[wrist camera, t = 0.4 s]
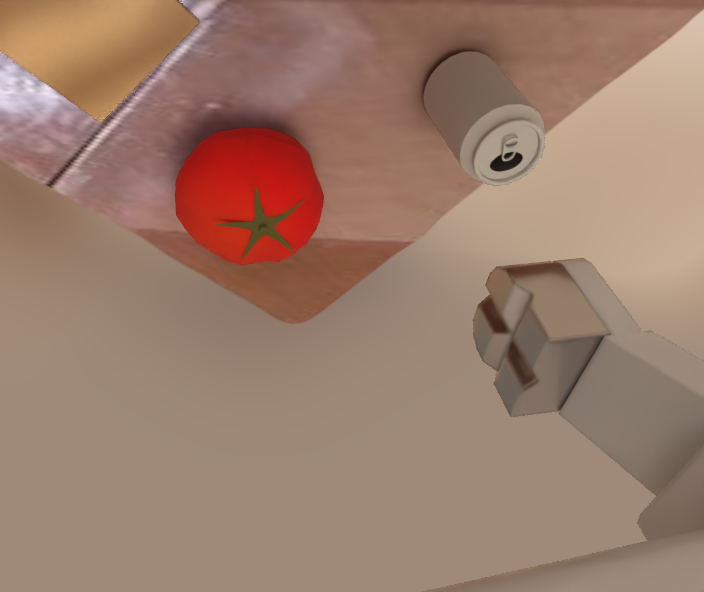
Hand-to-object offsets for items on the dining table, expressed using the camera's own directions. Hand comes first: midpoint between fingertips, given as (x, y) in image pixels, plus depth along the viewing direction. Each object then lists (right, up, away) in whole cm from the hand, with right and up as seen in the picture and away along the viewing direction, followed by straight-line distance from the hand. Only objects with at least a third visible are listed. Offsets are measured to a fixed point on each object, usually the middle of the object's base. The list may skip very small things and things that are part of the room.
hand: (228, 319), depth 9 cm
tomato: (-9, +13, +52) cm, 54 cm away
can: (+12, +20, +52) cm, 57 cm away
